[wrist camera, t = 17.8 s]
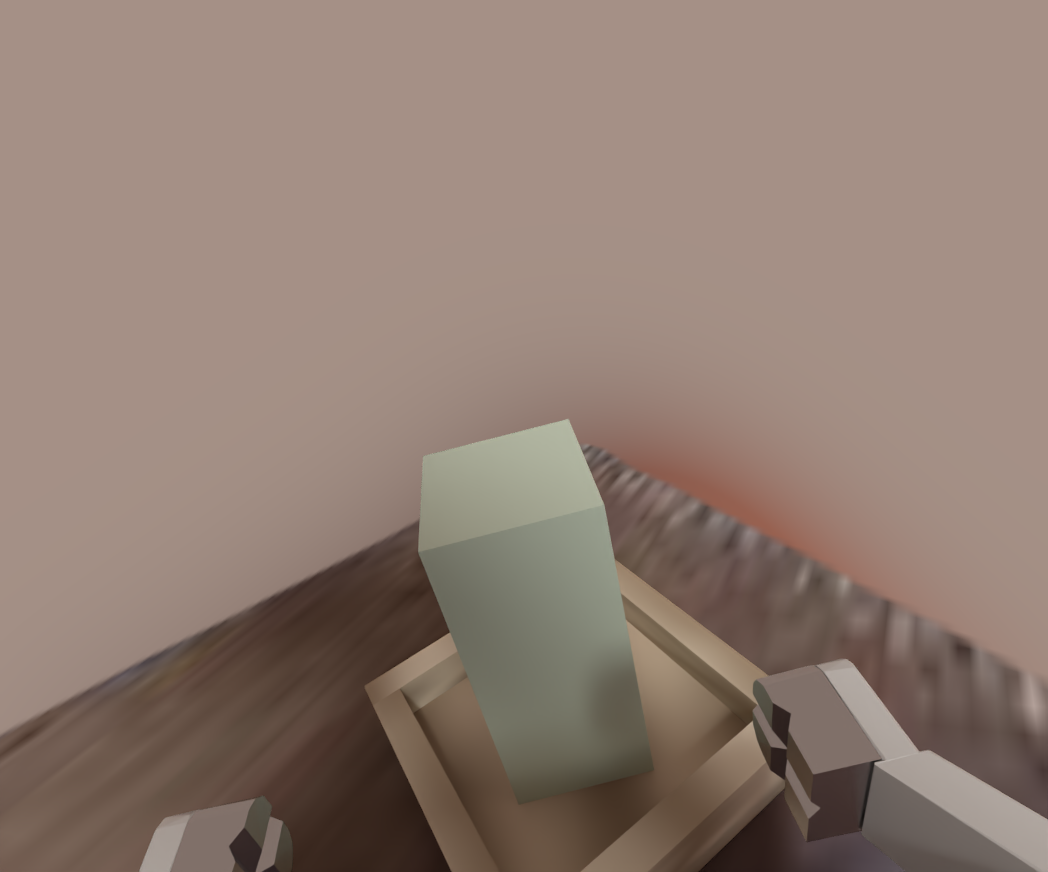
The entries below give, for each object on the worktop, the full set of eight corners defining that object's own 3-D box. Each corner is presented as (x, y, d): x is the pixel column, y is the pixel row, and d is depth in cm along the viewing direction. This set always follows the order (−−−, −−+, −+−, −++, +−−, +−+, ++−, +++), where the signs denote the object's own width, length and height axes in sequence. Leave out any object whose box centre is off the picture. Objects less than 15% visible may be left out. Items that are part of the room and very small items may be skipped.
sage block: (518, 804, 21) (418, 551, 16) (505, 687, 26) (422, 456, 20) (653, 770, 21) (603, 504, 16) (618, 658, 26) (568, 419, 20)
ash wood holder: (531, 1033, 17) (511, 997, 16) (383, 722, 27) (363, 686, 25) (817, 757, 21) (818, 713, 20) (600, 579, 31) (593, 543, 30)
